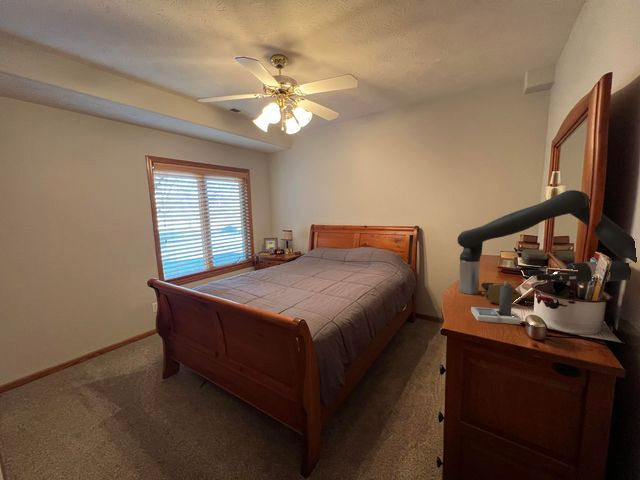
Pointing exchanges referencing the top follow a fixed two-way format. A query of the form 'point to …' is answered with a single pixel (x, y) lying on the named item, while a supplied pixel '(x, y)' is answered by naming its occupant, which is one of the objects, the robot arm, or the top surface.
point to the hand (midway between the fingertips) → (532, 275)
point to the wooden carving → (498, 293)
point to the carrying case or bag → (485, 285)
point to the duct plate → (494, 315)
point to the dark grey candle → (505, 300)
